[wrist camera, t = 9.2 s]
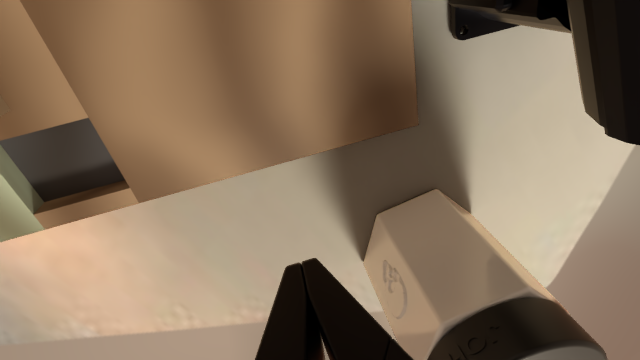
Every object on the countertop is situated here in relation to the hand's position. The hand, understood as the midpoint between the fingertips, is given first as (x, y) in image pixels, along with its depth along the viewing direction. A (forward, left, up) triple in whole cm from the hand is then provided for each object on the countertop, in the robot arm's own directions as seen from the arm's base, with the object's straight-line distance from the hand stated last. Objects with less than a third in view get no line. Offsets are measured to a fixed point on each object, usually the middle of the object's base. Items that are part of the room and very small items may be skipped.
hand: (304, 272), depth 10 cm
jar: (-8, +12, -12) cm, 19 cm away
